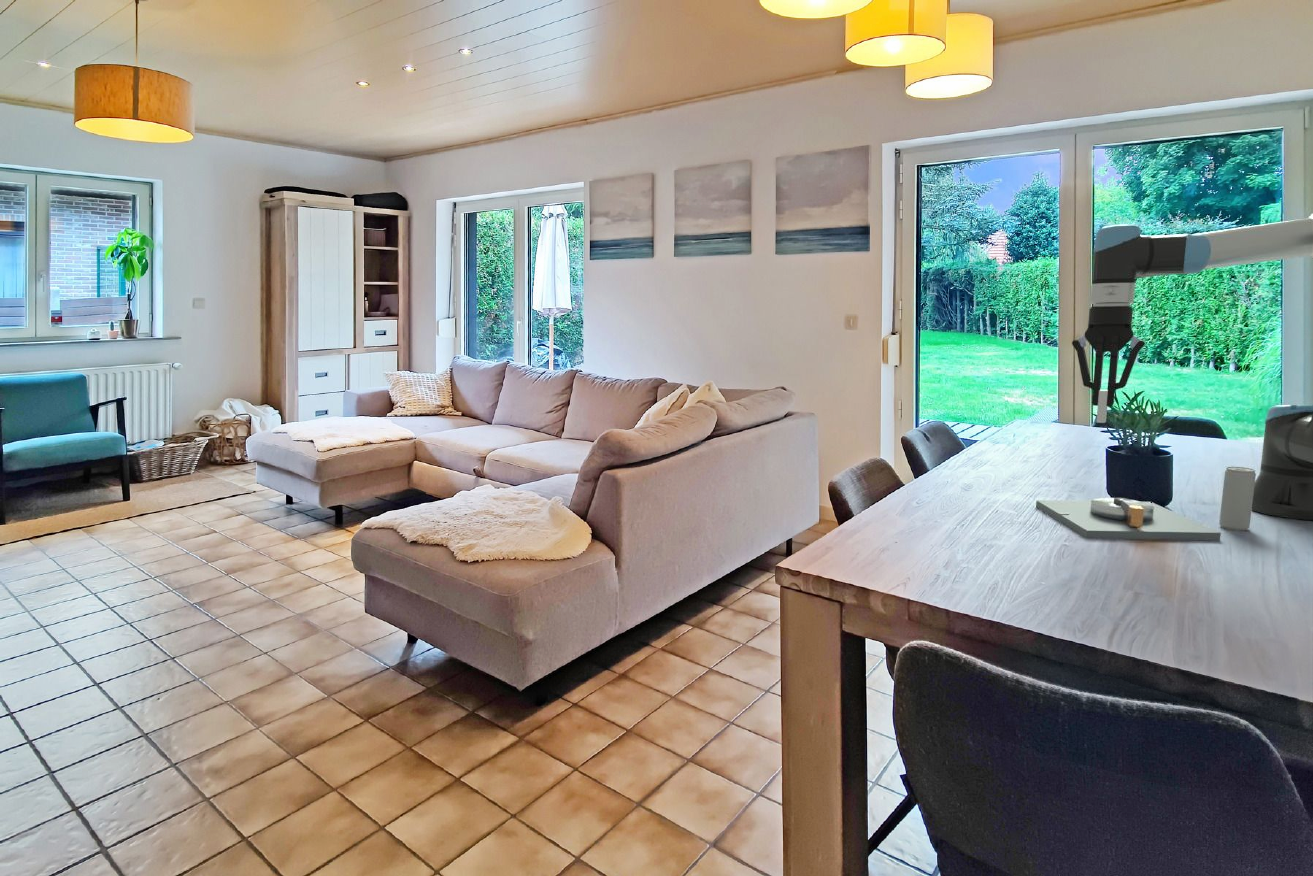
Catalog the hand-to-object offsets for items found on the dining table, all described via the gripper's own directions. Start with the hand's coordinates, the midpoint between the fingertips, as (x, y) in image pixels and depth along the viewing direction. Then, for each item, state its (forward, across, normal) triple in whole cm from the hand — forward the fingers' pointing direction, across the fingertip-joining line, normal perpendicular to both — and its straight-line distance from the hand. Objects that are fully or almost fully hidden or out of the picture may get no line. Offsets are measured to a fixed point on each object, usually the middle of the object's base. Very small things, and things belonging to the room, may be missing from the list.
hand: (1101, 421), depth 155 cm
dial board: (+20, +5, -1) cm, 21 cm away
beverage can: (+21, +24, +7) cm, 32 cm away
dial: (+19, +6, -3) cm, 20 cm away
